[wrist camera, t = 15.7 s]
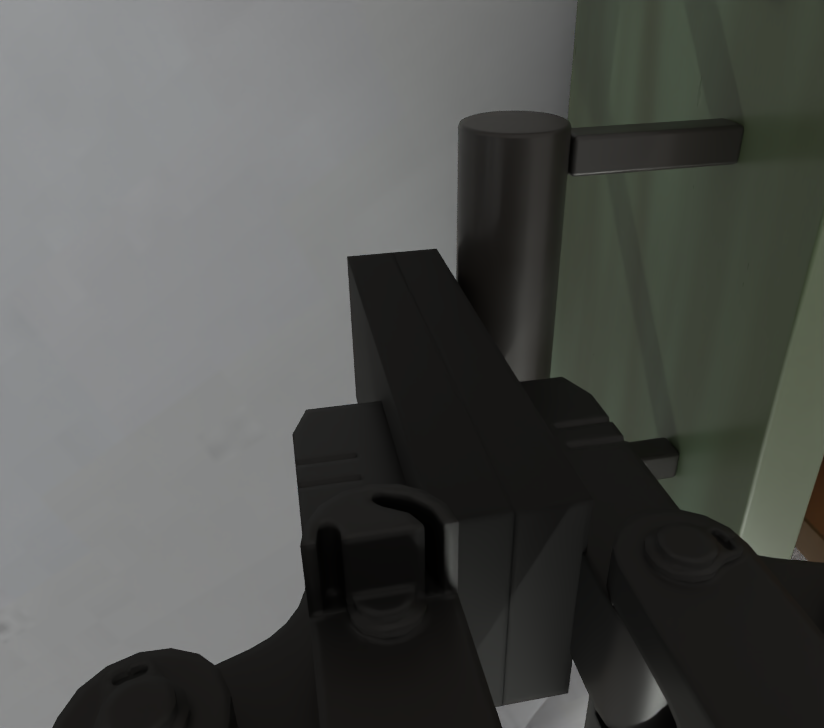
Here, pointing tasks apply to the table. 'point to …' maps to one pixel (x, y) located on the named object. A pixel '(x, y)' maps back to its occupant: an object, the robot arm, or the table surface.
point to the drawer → (672, 249)
